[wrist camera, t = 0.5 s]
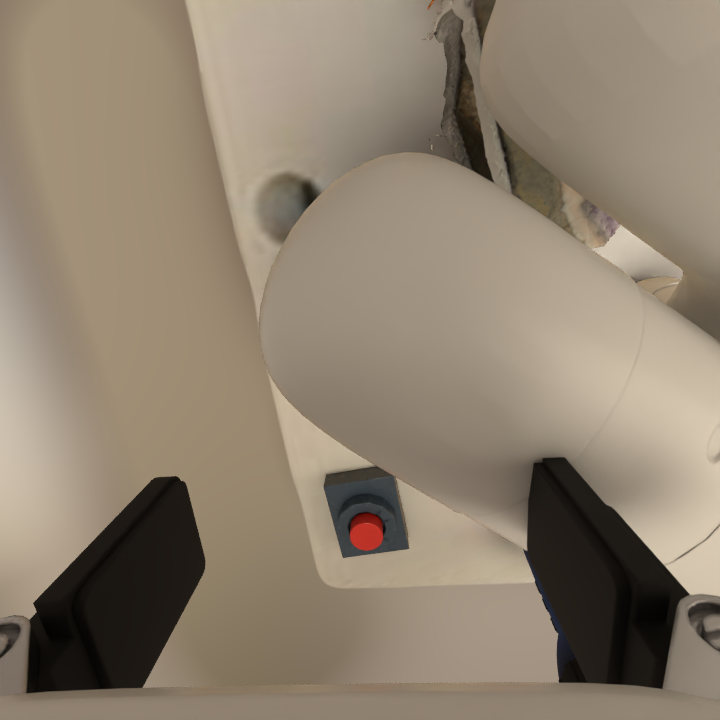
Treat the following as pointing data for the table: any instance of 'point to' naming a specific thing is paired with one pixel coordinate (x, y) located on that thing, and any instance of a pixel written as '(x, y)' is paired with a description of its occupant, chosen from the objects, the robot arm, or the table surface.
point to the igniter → (366, 507)
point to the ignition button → (366, 531)
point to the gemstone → (502, 131)
